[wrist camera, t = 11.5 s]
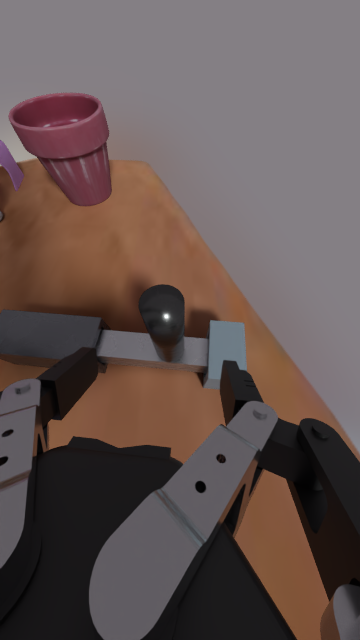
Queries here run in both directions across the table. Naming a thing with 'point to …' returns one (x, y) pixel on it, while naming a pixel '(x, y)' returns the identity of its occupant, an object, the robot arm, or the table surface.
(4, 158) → the toy chair
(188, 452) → the table surface
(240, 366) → the socket
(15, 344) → the sleeve
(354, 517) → the robot arm
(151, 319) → the block with knob
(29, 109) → the plant pot
